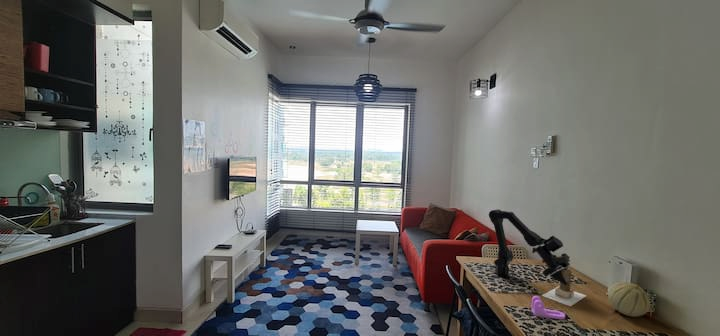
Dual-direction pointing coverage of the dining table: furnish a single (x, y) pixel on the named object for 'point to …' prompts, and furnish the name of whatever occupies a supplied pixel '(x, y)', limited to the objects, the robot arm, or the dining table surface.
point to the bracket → (544, 310)
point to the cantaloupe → (629, 299)
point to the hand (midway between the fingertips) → (568, 283)
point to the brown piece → (565, 289)
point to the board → (565, 301)
